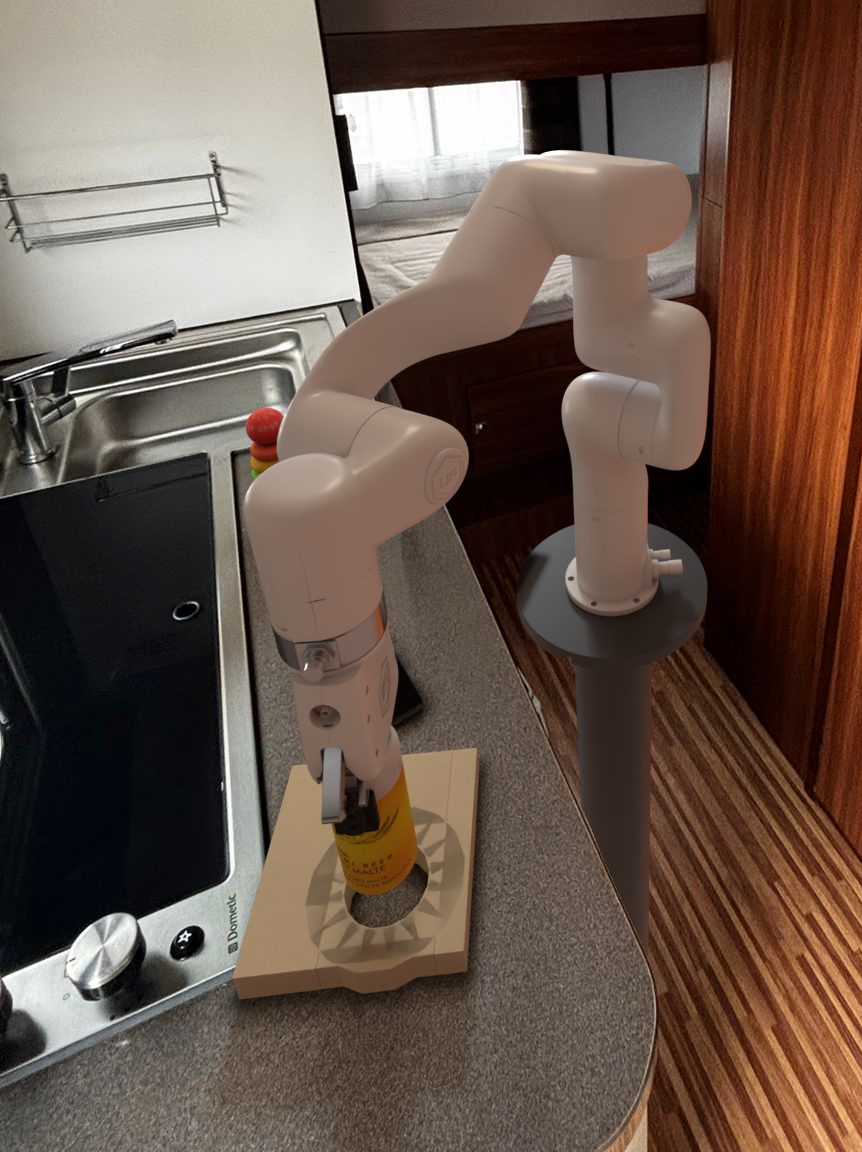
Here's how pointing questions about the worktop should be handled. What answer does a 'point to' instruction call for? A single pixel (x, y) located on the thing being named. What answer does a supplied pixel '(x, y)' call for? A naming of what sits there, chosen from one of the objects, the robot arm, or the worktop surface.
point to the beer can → (382, 831)
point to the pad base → (323, 897)
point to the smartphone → (405, 696)
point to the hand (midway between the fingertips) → (366, 785)
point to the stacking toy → (263, 438)
